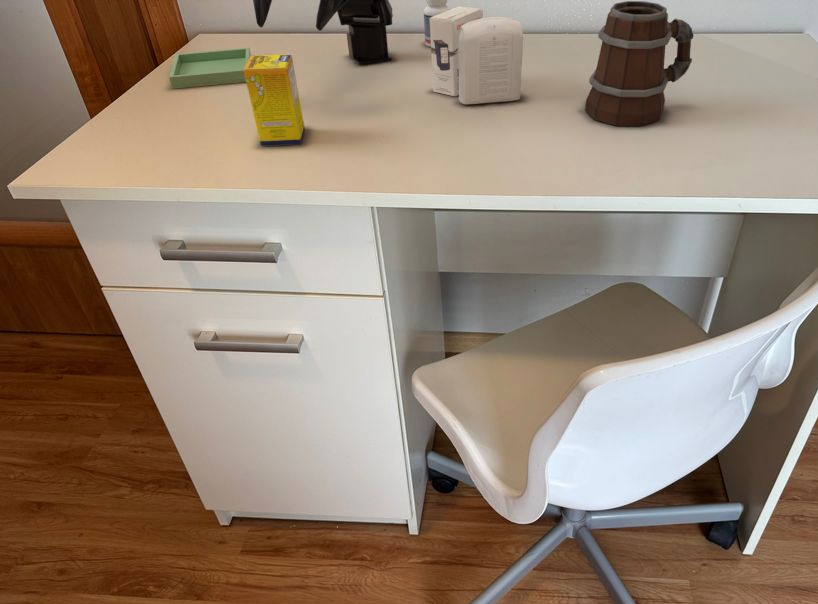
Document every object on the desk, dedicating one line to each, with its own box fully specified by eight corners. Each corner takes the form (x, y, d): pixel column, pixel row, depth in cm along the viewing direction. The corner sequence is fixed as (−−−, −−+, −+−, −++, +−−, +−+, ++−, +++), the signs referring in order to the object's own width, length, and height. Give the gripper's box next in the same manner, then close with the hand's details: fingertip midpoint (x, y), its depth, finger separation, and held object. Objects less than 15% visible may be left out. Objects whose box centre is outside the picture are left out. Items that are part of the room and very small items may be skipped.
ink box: (460, 77, 118) (458, 4, 110) (483, 82, 116) (484, 8, 108) (431, 92, 113) (427, 16, 105) (455, 97, 111) (454, 20, 103)
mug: (605, 131, 99) (618, 21, 89) (574, 102, 108) (584, 0, 98) (701, 119, 102) (724, 12, 92) (663, 92, 111) (681, -8, 101)
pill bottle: (448, 48, 131) (446, -2, 125) (422, 47, 132) (419, -3, 126) (454, 40, 135) (452, -9, 129) (428, 39, 136) (426, -9, 130)
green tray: (251, 58, 128) (249, 47, 127) (251, 81, 118) (249, 69, 117) (178, 65, 126) (175, 53, 125) (172, 89, 116) (169, 77, 115)
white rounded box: (516, 92, 112) (519, 11, 104) (524, 101, 109) (527, 19, 101) (456, 98, 110) (454, 17, 102) (462, 107, 107) (460, 24, 99)
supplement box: (265, 130, 101) (249, 55, 94) (305, 128, 102) (292, 53, 94) (259, 147, 97) (242, 68, 90) (301, 145, 97) (287, 66, 90)
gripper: (220, -119, 91) (198, -10, 90) (348, -118, 87) (327, -5, 86) (259, -62, 102) (241, 35, 101) (375, -59, 98) (357, 42, 97)
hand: (288, 27), depth 96 cm, fingers open, 9 cm apart
